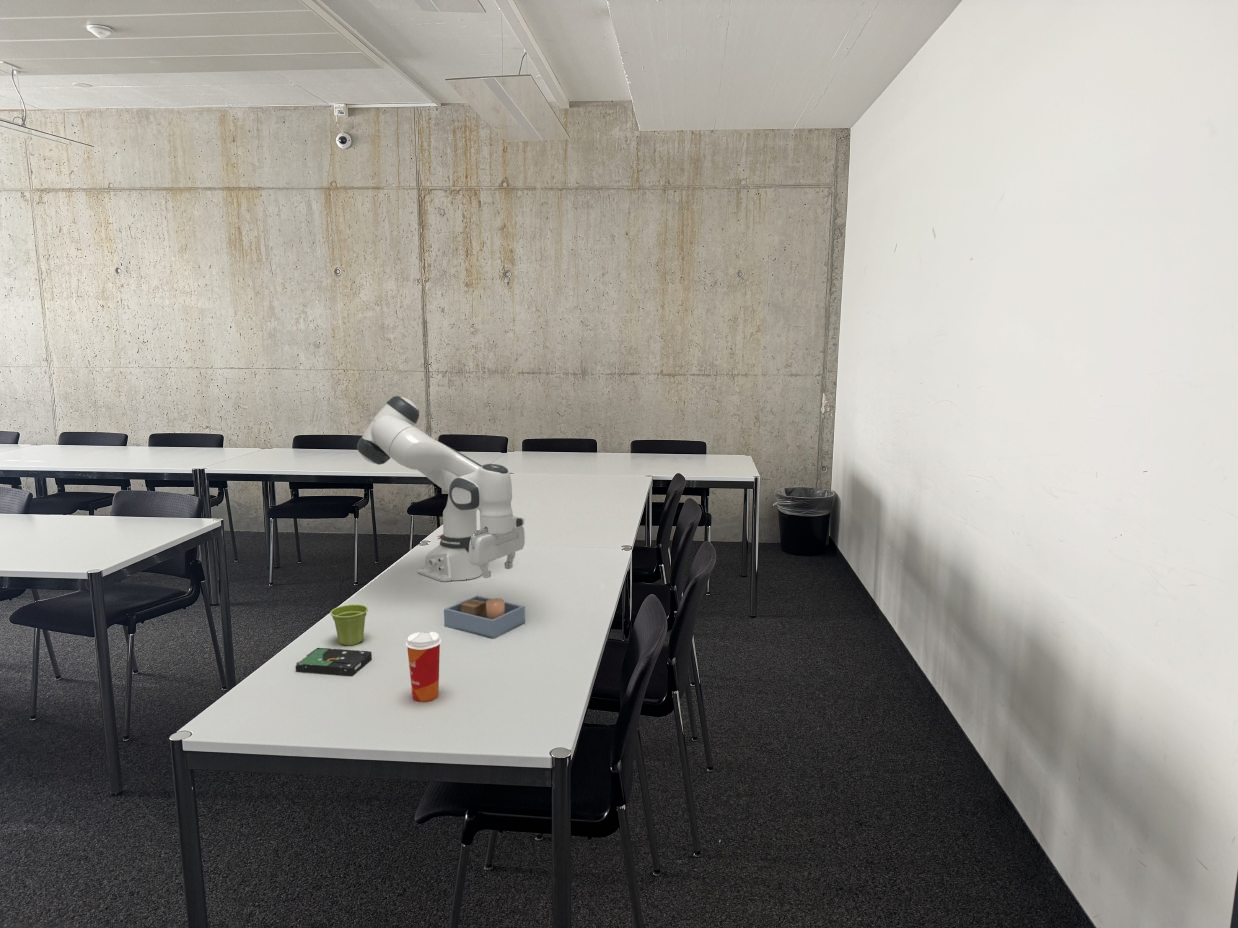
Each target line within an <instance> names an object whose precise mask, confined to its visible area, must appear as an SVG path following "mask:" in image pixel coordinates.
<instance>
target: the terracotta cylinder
mask: <svg viewBox="0 0 1238 928" xmlns="http://www.w3.org/2000/svg"><path fill="white" fill-rule="evenodd" d="M505 602H506V601H505V599H503V598H489V600H487V601H486V612H487V618H488V619H492V620H493V619H495V618H497V617H499V616H502V615H504V614H505Z"/></svg>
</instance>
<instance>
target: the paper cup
mask: <svg viewBox="0 0 1238 928" xmlns="http://www.w3.org/2000/svg"><path fill="white" fill-rule="evenodd" d="M441 643H442V639H441V637H440V635H439V633H437V632H435V631H430V632H429V631H423V632H421V631H418V632H414V633H412V634H410V635H409V636H408V637H407V641H406V642H405V646H406V648H407V658H408V667H409V676H410V677H409V678H410V685H411V695H412V699H413V701H415V702H420V703H425V702H426V703H427V702H432V701H434V700H436V699H437V698H438V697H439V688H440V687H439V685H440V684H439V683H440V656H441V655H440V653H441V652H440V650H441V649H440V648H441Z"/></svg>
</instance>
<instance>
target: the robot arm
mask: <svg viewBox="0 0 1238 928" xmlns="http://www.w3.org/2000/svg"><path fill="white" fill-rule="evenodd" d="M419 418H420V411H419V409H418V407H417V406H416V404H415V403H414V402H413V401H411V400H410V399H409V398H406V397H404V396H400V395H393V396H392V397H391V398H390V399H389V400H387V401H386V404H385V405H384V406H383V407H381V409H380V410H379V411H378V412H377V413H376V414H375V416H374V417H373V418H372V421H371V422H370V424H369V425H368V426H367V428H366V429H365V432H364V433H363V435H362V436H361V437H360V438H359V440H358V442H357V444H356V449H357V451H358V452H359V455H360V456H361V457H362V458H363V459H364V460H366V461H367V462H369V463H371V464H375V465H379V466H380V465H384V464H386V463H387V462H388V461H389V460H391V459H392V460H394V461H395V462H396V463H397V464H399V465H401V466H403V467H405V468H407V469H410V470H413V471H414V470H415V471H416V470H417V471H418V472H419V473H421V474H422V475H424V476H425V477H426V478H427V479H428V480H430V481H432V482H433V483H434V484H435V485H437V487H439V488H441V489H442V490H444V491H446V492H447V493H448V494H447V495H448V496H447V501H446V505H445V508H444V509H443V512H442V524H443V525H442V526H443V527H442V530H443V533H442V534H441V535H438V536H436V537H437V540H440V542H439V544H438V545H437V546H436V547H435V548H434V549H432V550H431V551H430V552H429V553H427V555H426V556H425V562H424V566H422V567H420V568H419V569H418V570H417V573H418V574H420V575H423V576H425V577H428V578H431V579H434V580H437V581H440V582H450V581H451V580H452V581H465V580H466V579H467V580H472V579H476V578H478V577H481V576H482V578H483V579H489V578H491V577H492V570H489V568H488V567H489V563H491V562H493V561H495V560H498V559H501V558H504V557H506V556H507V557H506V561H505V562H504V569H506V570H510V569H513V566H514V565H513V562H514V561H515V560H514V559H515V558H516V552H518V551H522V550H523V549H524V547H525V542H526V541H525V540H526V535H525V534H526V533H525V528H524V525H525V518H524V517H522V516H521V517H520V516H516V515H515V516H514V515H513V509H512V508H513V507H512V500H513V487H512V485H513V484H512V477H511V474H510V471H509V469H508V468H507V467H506V466H503V465H501V464H498V463H496V464H495V463H486V464H483V465H482V464H481V463H478V462H476V461H475V460H473V459H471V458H470V457H469V456H467V455H465V454H463V453H461V452H460V451H457V450H456V449H454V448H453V447H450V446H449V445H446V444H444V443H443V442H440V441H438V440H436V439H434V438H433V437H431V436H429V435H428V434H427V433H425V432H424V431H422V430H421V429H420V428H418V427H416V426H415V425H416V424H417V423H418V421H419ZM478 511H479V526H480V528H479V530H478V529H477V528H478V526H477V520H478V519H477V517H478V516H477V513H478ZM467 580H466V581H467Z"/></svg>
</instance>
